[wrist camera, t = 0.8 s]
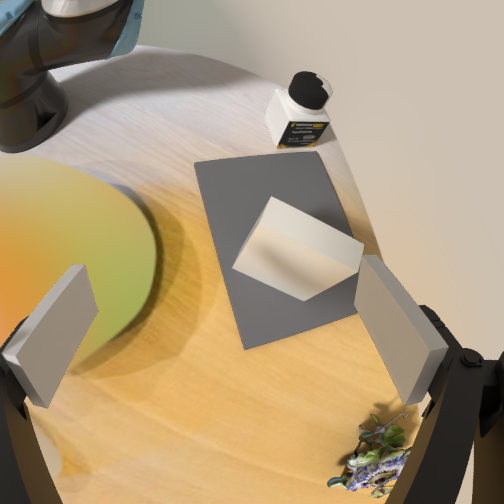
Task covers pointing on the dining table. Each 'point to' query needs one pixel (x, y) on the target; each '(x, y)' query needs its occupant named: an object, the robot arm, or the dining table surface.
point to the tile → (297, 252)
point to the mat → (241, 223)
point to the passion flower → (376, 460)
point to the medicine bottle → (299, 111)
